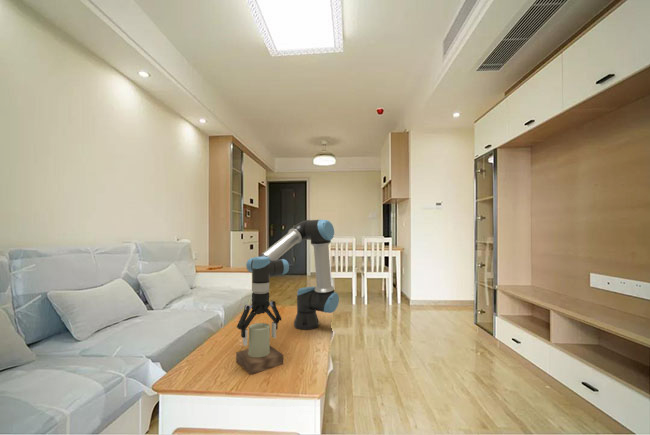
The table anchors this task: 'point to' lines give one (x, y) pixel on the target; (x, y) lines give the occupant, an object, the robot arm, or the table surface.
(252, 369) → the brown flat square block
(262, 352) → the can
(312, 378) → the table surface
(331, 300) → the robot arm
